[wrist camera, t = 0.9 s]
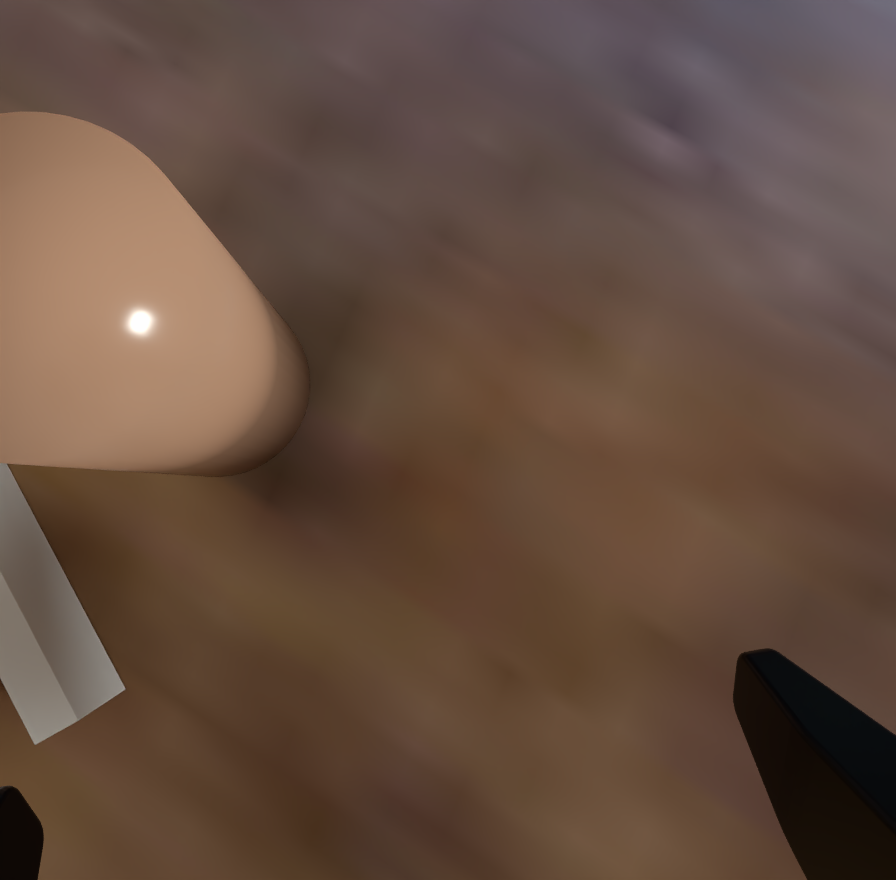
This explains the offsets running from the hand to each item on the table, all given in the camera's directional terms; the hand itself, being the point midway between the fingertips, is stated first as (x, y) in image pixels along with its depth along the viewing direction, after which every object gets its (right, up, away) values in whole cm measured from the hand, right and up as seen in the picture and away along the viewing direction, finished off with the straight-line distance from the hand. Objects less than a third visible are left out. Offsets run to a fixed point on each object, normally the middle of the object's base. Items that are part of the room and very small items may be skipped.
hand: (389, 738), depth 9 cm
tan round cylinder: (-6, +5, +13) cm, 15 cm away
